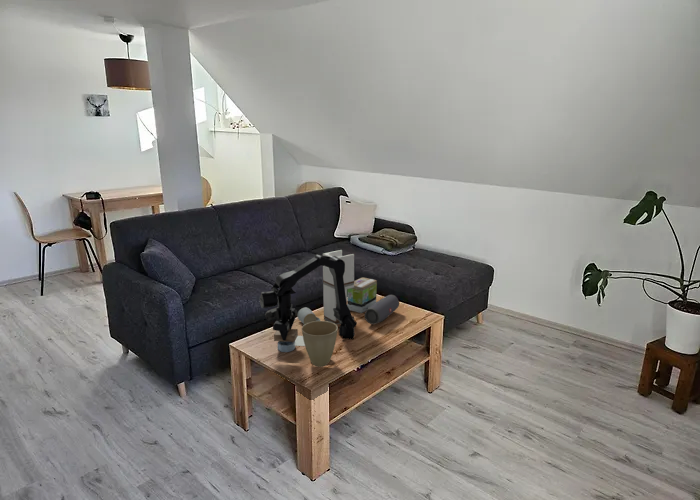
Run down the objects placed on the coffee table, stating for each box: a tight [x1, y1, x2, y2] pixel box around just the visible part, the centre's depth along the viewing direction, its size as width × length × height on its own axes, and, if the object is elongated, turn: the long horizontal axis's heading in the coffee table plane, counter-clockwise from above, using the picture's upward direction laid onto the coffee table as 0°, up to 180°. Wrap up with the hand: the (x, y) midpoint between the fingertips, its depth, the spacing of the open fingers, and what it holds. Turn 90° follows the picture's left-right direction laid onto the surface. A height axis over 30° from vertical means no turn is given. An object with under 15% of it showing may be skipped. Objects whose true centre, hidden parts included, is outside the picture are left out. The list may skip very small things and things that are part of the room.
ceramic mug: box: [297, 306, 321, 326], centre depth 236 cm, size 11×8×8 cm
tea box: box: [347, 276, 378, 314], centre depth 255 cm, size 15×10×15 cm
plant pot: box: [301, 320, 339, 368], centre depth 196 cm, size 15×15×16 cm
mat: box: [295, 335, 305, 347], centre depth 216 cm, size 10×10×1 cm
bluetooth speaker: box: [364, 294, 400, 325], centre depth 241 cm, size 23×9×10 cm, turn 148°
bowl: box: [277, 341, 296, 353], centre depth 208 cm, size 7×7×4 cm
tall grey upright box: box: [322, 249, 355, 325], centre depth 236 cm, size 11×11×35 cm
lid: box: [273, 328, 299, 342], centre depth 207 cm, size 9×6×4 cm
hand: (286, 336), depth 207 cm, fingers closed on lid, 6 cm apart
